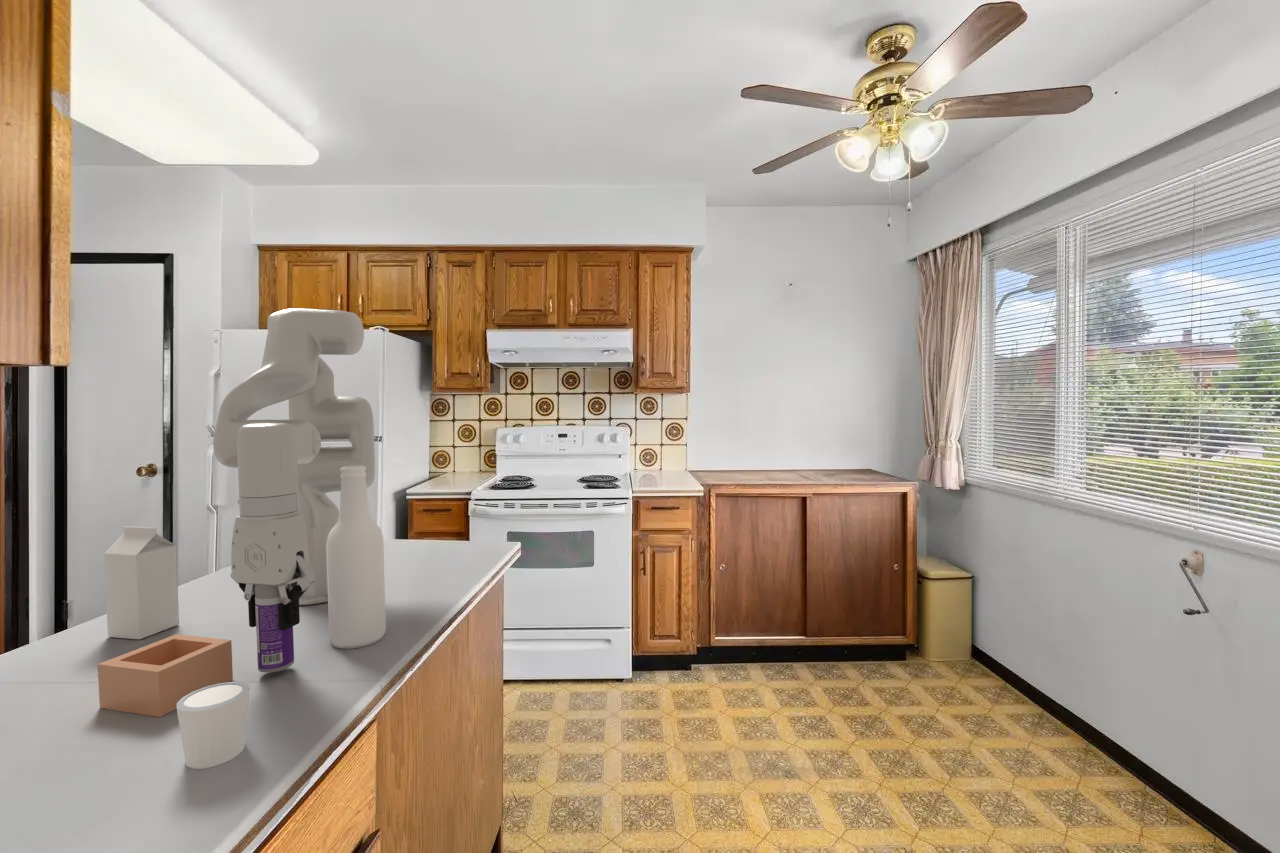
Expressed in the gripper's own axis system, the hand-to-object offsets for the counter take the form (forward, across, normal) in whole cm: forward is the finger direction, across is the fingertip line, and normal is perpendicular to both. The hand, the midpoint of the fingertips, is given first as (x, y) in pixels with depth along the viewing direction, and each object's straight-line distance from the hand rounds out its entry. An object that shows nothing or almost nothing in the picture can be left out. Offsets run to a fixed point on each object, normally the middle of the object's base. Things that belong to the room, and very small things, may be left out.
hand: (274, 624), depth 88 cm
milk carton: (+8, -38, +8) cm, 39 cm away
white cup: (+7, +10, -19) cm, 23 cm away
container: (+7, 0, 0) cm, 7 cm away
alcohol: (+8, +3, +13) cm, 16 cm away
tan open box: (+7, -10, -9) cm, 15 cm away
